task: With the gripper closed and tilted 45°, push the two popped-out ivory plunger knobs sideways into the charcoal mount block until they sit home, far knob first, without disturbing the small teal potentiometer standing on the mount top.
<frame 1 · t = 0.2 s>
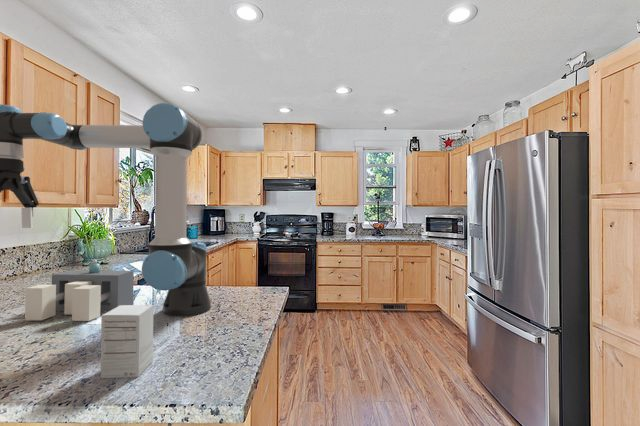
hand: (8, 229, 97), 27 cm above the table, tool pointing down, fingers open, 13 cm apart
plant pot: (109, 299, 124), on the table
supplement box: (127, 370, 68), on the table
mount: (93, 307, 112), on the table
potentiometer: (94, 272, 112), point 12 cm above the table, touching mount
near knob: (96, 299, 103), point 5 cm above the table, slide at 6.0 cm
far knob: (52, 298, 103), point 5 cm above the table, slide at 6.0 cm
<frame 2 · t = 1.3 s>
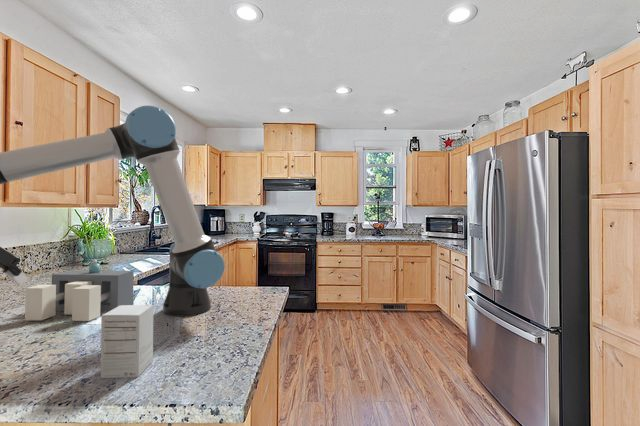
hand: (2, 280, 87), 14 cm above the table, tool tilted 45°, fingers open, 10 cm apart
nothing on the table moved.
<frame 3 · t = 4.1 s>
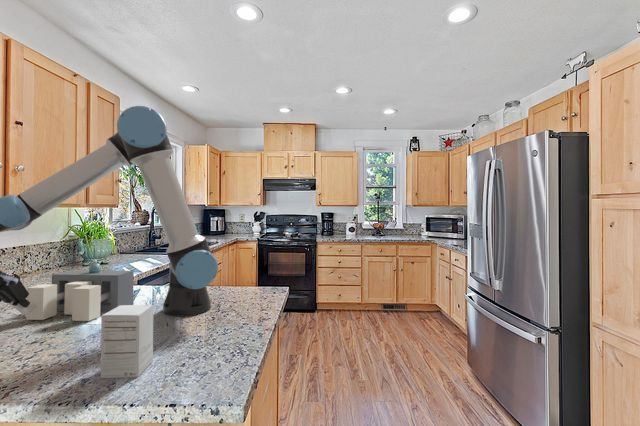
hand: (29, 311, 96), 3 cm above the table, tool tilted 45°, fingers closed
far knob: (53, 298, 103), point 5 cm above the table, slide at 5.5 cm, touching gripper
everything else where it was.
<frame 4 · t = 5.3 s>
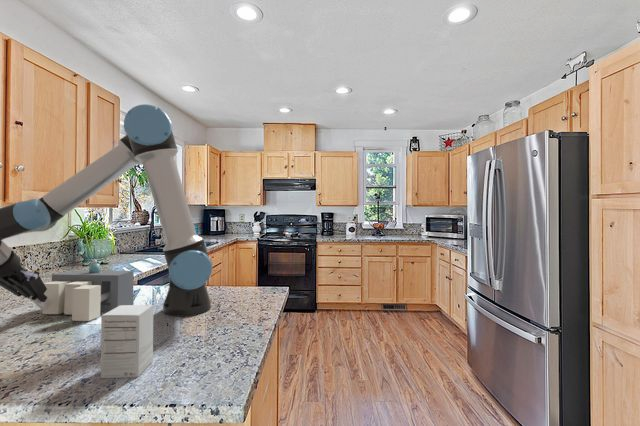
hand: (46, 305, 101), 3 cm above the table, tool tilted 45°, fingers closed
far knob: (66, 293, 109), point 5 cm above the table, slide at -0.1 cm, touching gripper
everything else where it was.
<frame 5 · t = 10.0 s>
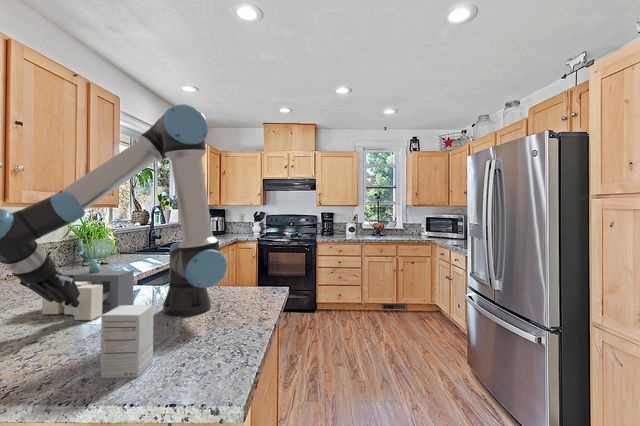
hand: (78, 311, 96), 4 cm above the table, tool tilted 45°, fingers closed
near knob: (98, 298, 104), point 5 cm above the table, slide at 5.1 cm, touching gripper
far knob: (66, 293, 109), point 5 cm above the table, slide at 0.0 cm
everything else where it was.
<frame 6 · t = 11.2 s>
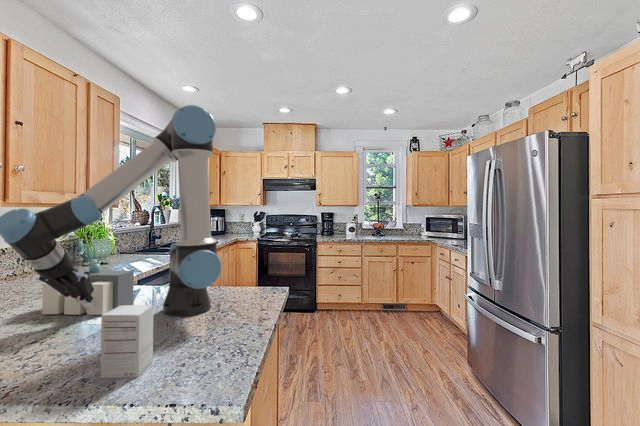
hand: (91, 306, 101), 4 cm above the table, tool tilted 45°, fingers closed
near knob: (108, 294, 109), point 5 cm above the table, slide at -0.1 cm, touching gripper
everything else where it was.
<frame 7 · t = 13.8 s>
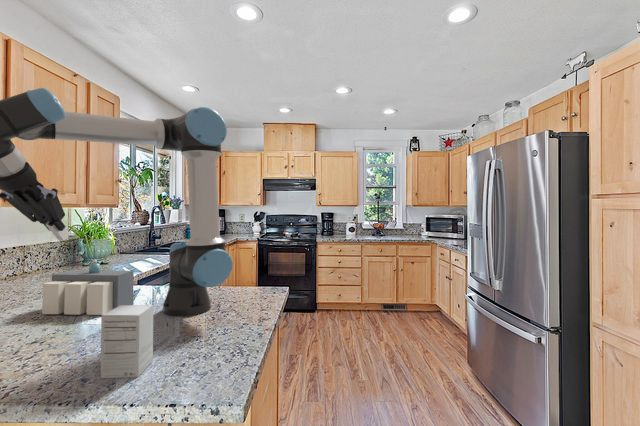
hand: (64, 237, 90), 26 cm above the table, tool tilted 45°, fingers closed
near knob: (108, 294, 109), point 5 cm above the table, slide at 0.0 cm
everything else where it was.
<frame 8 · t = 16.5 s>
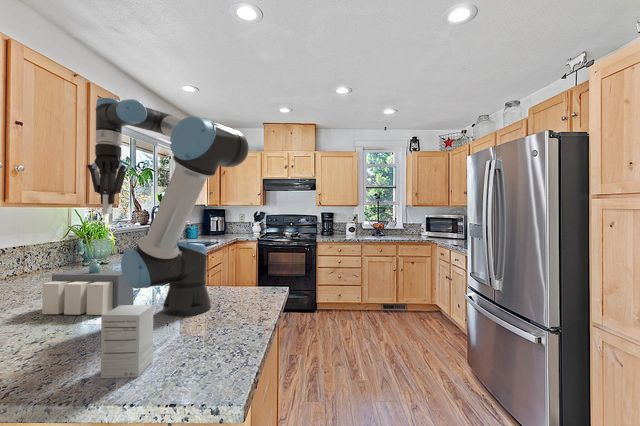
hand: (107, 213, 111), 32 cm above the table, tool pointing down, fingers closed
nothing on the table moved.
at the end: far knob slide at 0.0 cm; near knob slide at 0.0 cm; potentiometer moved 0.0 cm from its start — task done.
